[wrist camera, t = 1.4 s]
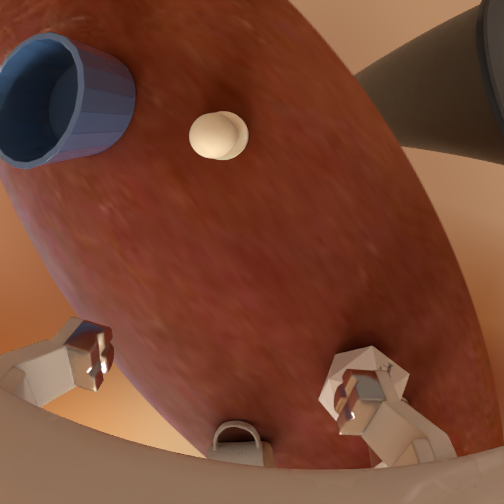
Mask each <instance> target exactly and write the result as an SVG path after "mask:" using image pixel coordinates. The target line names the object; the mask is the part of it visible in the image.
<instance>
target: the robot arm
mask: <svg viewBox="0 0 504 504" xmlns="http://www.w3.org/2000/svg"><path fill="white" fill-rule="evenodd" d="M112 338H113V337H112V329H111V328H110V327H107V326H103V325H100V324H97V323H94V322H90V321H87V320H83V319H80V318H77V317H71V318H70V319H69V320H68V322H67V323H66V324H65V325H64V326H63V327H62V328H61V329H60V330H59V332H58V333H57V334H56V335H55V336H54V337H53V338H52V339H51V340H48V339H46V340H43V341H40V342H37V343H34V344H31V345H28V346H25V347H22V348H19V349H16V350H13V351H10V352H7V353H4V354H1V355H0V504H504V446H501V447H498V448H494V449H490V450H487V451H483V452H479V453H474V454H470V455H466V456H461V457H457V455H456V453H455V450H454V448H453V446H452V444H451V441H450V439H449V437H448V435H447V434H446V433H445V432H443V431H442V430H441V429H439V428H438V427H437V426H435V425H434V424H433V423H432V422H430V421H429V420H428V419H426V418H425V417H424V416H422V415H421V414H420V413H419V412H417V411H416V410H415V409H413V408H412V407H411V406H409V405H408V404H407V403H406V402H404V401H400V400H399V397H398V395H397V393H396V390H395V388H394V386H393V383H392V381H391V379H390V376H389V374H388V372H387V371H385V370H358V369H346V370H345V372H344V374H343V376H342V380H343V383H342V384H340V385H339V386H338V387H337V389H336V392H335V395H334V410H335V412H336V413H337V414H338V415H339V416H338V418H337V420H336V421H337V426H338V431H339V434H341V435H362V436H361V437H362V438H363V439H364V440H365V441H366V442H367V444H368V445H369V446H370V447H371V448H372V449H373V451H374V452H375V453H376V454H377V455H378V456H379V457H380V459H381V460H382V461H383V462H384V463H385V464H386V465H387V467H384V468H369V469H343V470H317V469H290V468H276V467H264V466H254V465H245V464H238V463H230V462H223V461H217V460H211V459H205V458H199V457H195V456H190V455H185V454H180V453H175V452H171V451H167V450H162V449H158V448H155V447H151V446H147V445H143V444H139V443H136V442H132V441H129V440H125V439H123V438H119V437H116V436H113V435H110V434H107V433H104V432H101V431H98V430H95V429H92V428H90V427H87V426H84V425H81V424H79V423H76V422H73V421H71V420H69V419H66V418H64V417H61V416H59V415H57V414H54V413H52V412H50V411H47V410H45V409H43V408H41V407H42V406H43V405H45V404H47V403H48V402H50V401H52V400H54V399H55V398H57V397H59V396H60V395H62V394H64V393H66V392H67V391H69V390H71V389H73V388H74V387H75V386H78V387H80V388H83V389H87V390H90V391H93V392H97V390H98V389H99V387H100V385H101V384H102V382H103V374H104V373H107V372H109V370H110V368H111V366H112V363H113V359H114V347H113V346H112V345H111V343H110V341H111V339H112Z"/></svg>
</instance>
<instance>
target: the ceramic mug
mask: <svg viewBox="0 0 504 504" xmlns="http://www.w3.org/2000/svg"><path fill="white" fill-rule="evenodd" d="M228 427H238V428H241V429H245V430H247V431H249V432H250V433H251V434H252V435H253V436H254V438H255V441H251V442H228V443H218V435H219V434H220V433H221V432H222V431H223V430H224V429H226V428H228ZM207 459H211V460H217V461H223V462H230V463H238V464H245V465H254V466H264V467H276V466H275V459H274V454H273V450H272V447H271V445H270V444H269V443H268V442H265V441H260V437H259V434H258V433H257V431H256V429H255V428H254V427H253V426H252V425H250V424H248V423H246V422H243V421H228V422H225V423H223V424H222V425H221V426H220V427H219V428H218V429H217V431H216V434H215V436H214V442H213V444H211V445H210V446H209V449H208V453H207Z"/></svg>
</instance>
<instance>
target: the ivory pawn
mask: <svg viewBox="0 0 504 504" xmlns="http://www.w3.org/2000/svg"><path fill="white" fill-rule="evenodd" d="M248 138H249V133H248V128H247V126H246V124H245V122H244V121H243V120H242V119H241V118H240V117H239V116H237V115H236V114H234V113H231V112H227V111H220V112H215V113H208V114H204V115H202V116H200V117H199V118H198V119H197V120H196V121H195V122H194V123H193V125H192V126H191V129H190V133H189V139H190V143H191V146H192V148H193V149H194V150H195V151H196V152H197V153H198V154H199V155H201V156H203V157H206V158H214V159H218V160H228V159H231V158H234V157H235V156H237V155H238V154H240V153H241V152H242V151H243V150H244V148H245V147H246V145H247V142H248Z"/></svg>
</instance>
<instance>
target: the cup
mask: <svg viewBox="0 0 504 504" xmlns="http://www.w3.org/2000/svg"><path fill="white" fill-rule="evenodd" d="M135 102H136V90H135V84H134V80H133V77H132V74H131V73H130V71H129V69H128V68H127V66H126V65H125V64H124V63H123V62H122V61H121V60H119V59H118V58H116V57H115V56H113V55H110V54H108V53H106V52H103V51H101V50H99V49H96V48H94V47H91V46H89V45H86V44H84V43H81V42H79V41H76V40H74V39H71V38H69V37H66V36H63V35H60V34H56V33H53V32H48V33H42V34H36V35H34V36H32V37H30V38H28V39H26V40H25V41H23V42H21V43H20V44H19V45H18V46H17V47H16V48H15V49H14V50H13V51H12V52H11V53H10V54H9V55H8V56H7V57H6V59H5V60H4V62H3V63H2V65H1V66H0V157H1V159H2V160H3V161H5V162H6V163H8V164H10V165H11V166H13V167H15V168H22V169H31V168H36V167H40V166H44V165H48V164H53V163H57V162H62V161H66V160H71V159H76V158H81V157H86V156H90V155H94V154H98V153H100V152H103V151H104V150H106V149H108V148H109V147H111V146H112V145H113V144H114V143H115V142H116V141H117V140H118V139H119V138H120V137H121V136H122V135H123V133H124V132H125V130H126V129H127V127H128V125H129V123H130V121H131V118H132V115H133V112H134V108H135Z"/></svg>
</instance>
